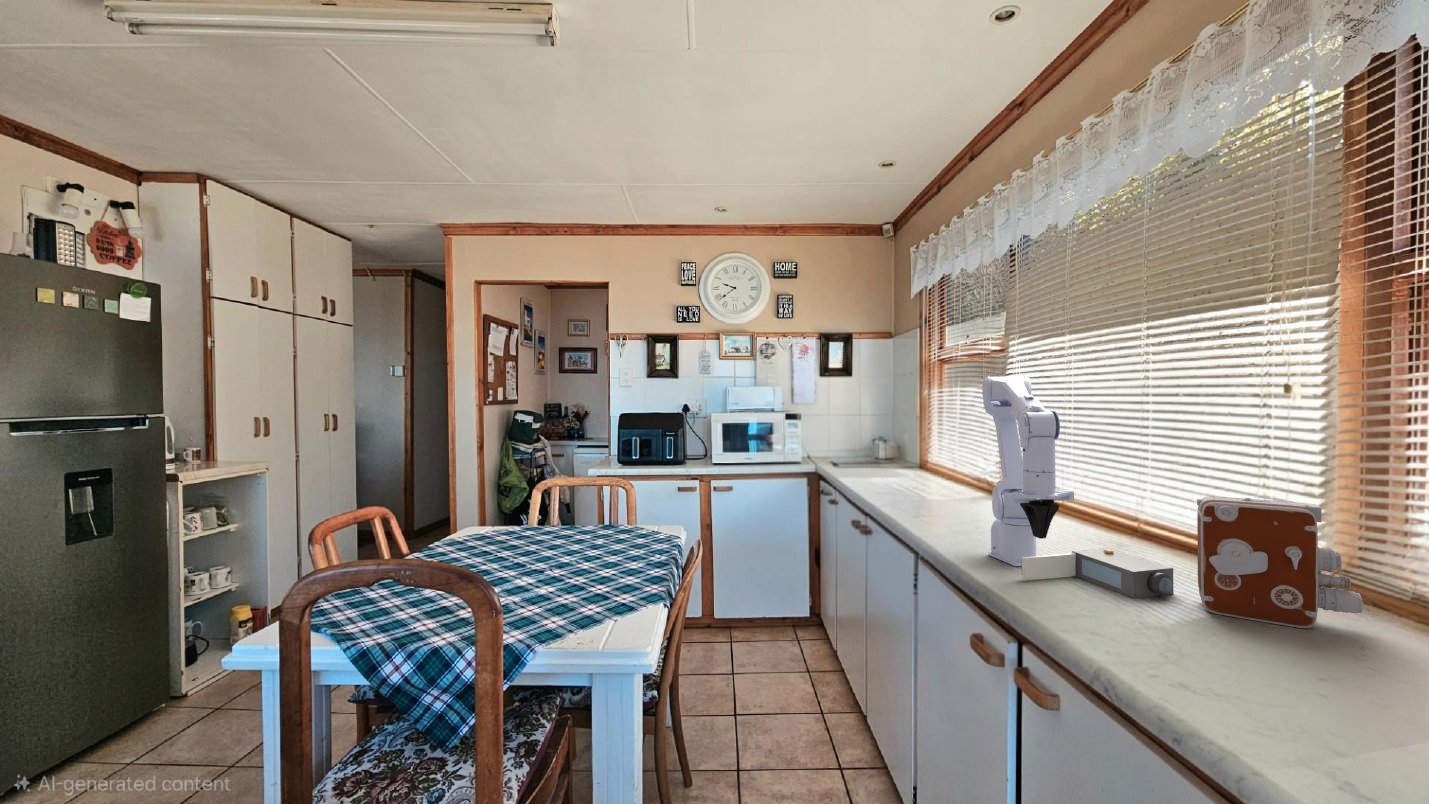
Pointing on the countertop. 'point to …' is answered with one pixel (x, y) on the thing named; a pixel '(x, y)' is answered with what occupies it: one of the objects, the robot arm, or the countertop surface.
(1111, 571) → the camera body
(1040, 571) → the side door
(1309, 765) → the countertop surface
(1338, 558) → the cine camera
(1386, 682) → the countertop surface
